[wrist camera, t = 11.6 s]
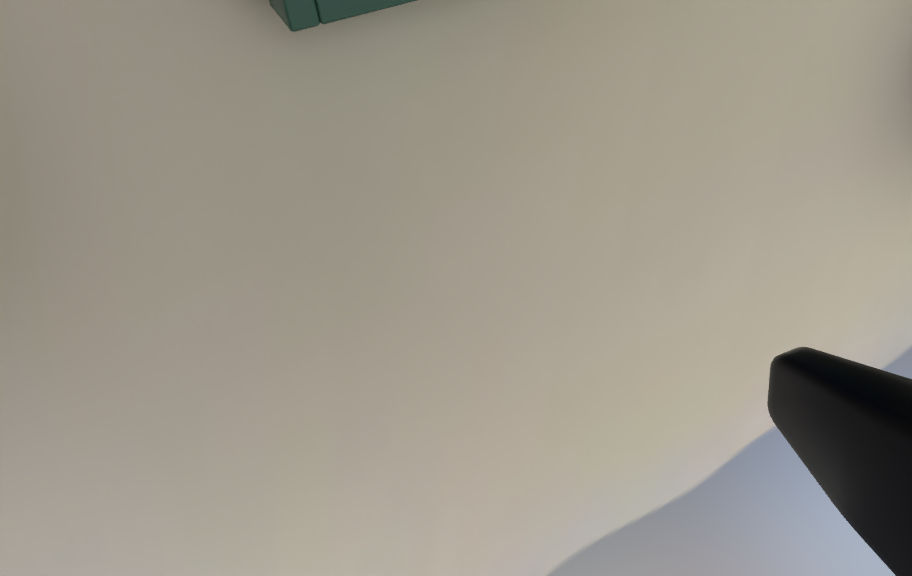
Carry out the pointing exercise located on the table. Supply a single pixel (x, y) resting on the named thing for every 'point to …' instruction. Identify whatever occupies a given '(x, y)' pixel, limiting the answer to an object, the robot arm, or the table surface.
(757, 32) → the table surface
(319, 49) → the table surface
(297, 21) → the tray
